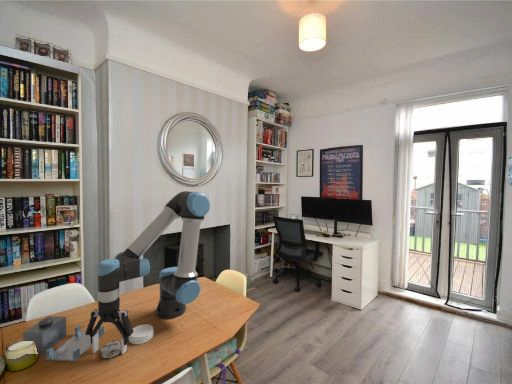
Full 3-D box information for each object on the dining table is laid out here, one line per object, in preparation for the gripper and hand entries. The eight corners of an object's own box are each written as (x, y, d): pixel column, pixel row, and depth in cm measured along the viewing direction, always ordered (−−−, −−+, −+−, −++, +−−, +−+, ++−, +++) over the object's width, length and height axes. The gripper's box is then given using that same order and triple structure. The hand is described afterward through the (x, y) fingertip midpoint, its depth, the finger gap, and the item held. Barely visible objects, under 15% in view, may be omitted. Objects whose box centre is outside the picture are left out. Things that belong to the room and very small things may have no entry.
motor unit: (104, 333, 115) (104, 310, 115) (75, 361, 98) (74, 334, 97) (54, 331, 116) (54, 309, 116) (16, 359, 98) (15, 333, 98)
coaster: (137, 348, 106) (137, 339, 106) (124, 339, 111) (123, 332, 111) (158, 335, 114) (158, 328, 114) (144, 328, 120) (144, 321, 120)
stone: (99, 349, 105) (99, 343, 105) (119, 342, 109) (119, 336, 109) (102, 363, 97) (102, 356, 97) (123, 354, 102) (123, 348, 102)
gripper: (142, 295, 105) (142, 346, 106) (87, 293, 106) (88, 344, 107) (132, 304, 98) (133, 358, 99) (73, 302, 99) (74, 356, 100)
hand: (109, 351), depth 103 cm, fingers open, 11 cm apart
